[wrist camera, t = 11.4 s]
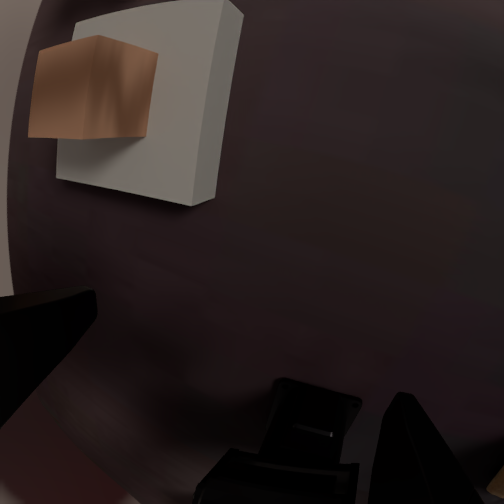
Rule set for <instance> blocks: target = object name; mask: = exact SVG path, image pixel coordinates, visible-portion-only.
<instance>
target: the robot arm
mask: <svg viewBox="0 0 504 504" xmlns="http://www.w3.org/2000/svg"><path fill="white" fill-rule="evenodd" d="M96 317H97V302H96V293H95V291H94V290H93V289H91V288H89V287H87V286H77V287H70V288H63V289H55V290H48V291H41V292H34V293H26V294H19V295H12V296H4V297H0V429H1V428H2V427H3V425H4V424H5V423H6V422H7V421H8V419H9V418H10V417H11V416H12V415H13V414H14V413H15V411H16V410H17V409H18V408H19V407H20V406H21V405H22V403H23V402H24V401H25V400H26V399H27V398H28V397H29V396H30V394H31V393H32V392H33V391H34V390H35V389H36V388H37V387H38V386H39V384H40V383H41V382H42V381H43V380H44V379H45V378H46V377H47V376H48V375H49V374H50V373H51V371H52V370H53V369H54V368H55V367H56V366H57V365H58V364H59V363H60V362H61V361H62V360H63V359H64V358H65V357H66V355H67V354H68V353H69V352H70V351H71V350H72V348H73V347H74V346H75V345H76V343H77V342H78V341H79V339H80V338H81V337H82V336H83V334H84V333H85V332H86V331H87V329H88V328H89V327H90V326H91V324H92V323H93V322H94V321H95V319H96ZM284 384H286V385H288V386H285V385H284ZM354 403H357V404H354ZM361 407H362V400H361V399H360V398H358V397H353V396H349V395H345V394H341V393H337V392H333V391H329V390H326V389H322V388H318V387H315V386H311V385H307V384H304V383H300V382H297V381H293V380H290V379H286V378H285V379H282V380H281V381H280V382H279V385H278V388H277V392H276V395H275V398H274V401H273V404H272V408H271V411H270V414H269V417H268V420H267V423H266V426H265V429H266V431H267V434H266V436H265V438H264V441H263V443H262V446H261V448H260V450H259V453H258V454H254V453H248V452H243V451H239V449H234V448H230V449H229V450H228V452H227V453H226V454H225V455H224V456H223V457H222V458H221V459H220V460H219V462H218V463H217V464H216V465H215V466H214V467H213V468H212V470H211V471H210V472H209V473H208V474H207V475H206V476H205V477H204V478H203V479H202V481H201V482H200V483H199V484H198V485H197V487H196V491H195V492H194V494H193V502H192V504H355V498H356V490H357V482H358V473H359V463H351V464H339V462H340V457H341V451H342V445H343V439H344V436H345V434H346V433H347V431H348V429H349V428H350V426H351V424H352V423H353V421H354V419H355V418H356V416H357V414H358V412H359V411H360V409H361ZM368 504H484V502H483V500H482V499H481V497H480V496H479V494H478V492H477V491H476V489H474V486H473V484H472V483H471V481H470V480H469V478H468V476H467V475H466V473H465V472H464V470H463V468H462V467H461V465H460V464H459V462H458V461H457V459H456V458H455V456H454V454H453V453H452V451H451V450H450V448H449V447H448V445H447V444H446V442H445V441H444V439H443V438H442V436H441V435H440V433H439V432H438V430H437V429H436V427H435V426H434V424H433V423H432V421H431V420H430V418H429V417H428V415H427V414H426V412H425V411H424V409H423V408H422V407H421V405H420V404H419V402H418V401H417V399H416V398H415V396H414V395H412V394H409V393H404V392H398V393H397V394H396V395H395V397H394V399H393V400H392V402H391V404H390V405H389V407H388V408H387V410H386V412H385V414H384V416H383V419H382V424H381V429H380V435H379V440H378V445H377V449H376V454H375V459H374V463H373V468H372V475H371V483H370V491H369V498H368Z"/></svg>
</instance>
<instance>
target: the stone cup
mask: <svg viewBox="0 0 504 504" xmlns="http://www.w3.org/2000/svg"><path fill="white" fill-rule="evenodd" d="M486 489H487V491H488V492H489V493H491V494H492V495H497V496H499V497H501V498H504V465H503V467H502V468H501V469H500V471H499V472H498V473H497V474H496V476H495V477H494V478H493V479H492V481H491V482H490V483H489V484H488V486H487V488H486Z"/></svg>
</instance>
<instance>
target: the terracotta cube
mask: <svg viewBox="0 0 504 504" xmlns="http://www.w3.org/2000/svg"><path fill="white" fill-rule="evenodd" d="M158 55H159V54H158V53H156V52H153V51H150V50H147V49H144V48H141V47H138V46H135V45H132V44H128V43H125V42H122V41H119V40H115V39H112V38H108V37H105V36H101V35H94V36H90V37H86V38H82V39H78V40H74V41H71V42H67V43H63V44H60V45H57V46H53V47H50V48H47V49H44V50H41V51H39V56H38V61H37V66H36V72H35V78H34V85H33V92H32V100H31V109H30V120H29V133H28V137H37V138H64V139H82V140H83V139H97V138H116V137H146V134H147V126H148V118H149V110H150V103H151V96H152V90H153V83H154V77H155V71H156V66H157V60H158Z"/></svg>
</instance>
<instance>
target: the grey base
mask: <svg viewBox="0 0 504 504" xmlns="http://www.w3.org/2000/svg"><path fill="white" fill-rule="evenodd" d="M243 17H244V15H243V14H242V13H241V12H240V11H239V10H238V9H237V8H236V7H235V6H234V5H233V4H232V3H231V2H230V1H229V0H179V1H172V2H165V3H158V4H152V5H147V6H141V7H136V8H131V9H127V10H122V11H118V12H113V13H109V14H105V15H102V16H98V17H94V18H91V19H87V20H84V21H81V22H77V23H76V25H75V29H74V33H73V38H72V41H74V40H78V39H82V38H86V37H90V36H94V35H101V36H105V37H108V38H112V39H115V40H119V41H122V42H125V43H128V44H132V45H135V46H138V47H141V48H144V49H147V50H150V51H153V52H156V53H158V54H159V55H158V60H157V66H156V71H155V77H154V83H153V90H152V96H151V103H150V110H149V118H148V126H147V134H146V137H116V138H97V139H83V140H82V139H64V138H58V146H57V168H56V178H59V179H64V180H70V181H75V182H80V183H85V184H90V185H95V186H100V187H105V188H110V189H114V190H119V191H124V192H129V193H133V194H138V195H143V196H147V197H152V198H157V199H161V200H166V201H170V202H175V203H179V204H184V205H188V206H194V205H196V204H199V203H202V202H204V201H207V200H210V199H212V198H215V191H216V184H217V176H218V169H219V161H220V154H221V147H222V140H223V134H224V127H225V120H226V114H227V108H228V101H229V95H230V89H231V83H232V77H233V71H234V65H235V60H236V54H237V48H238V43H239V38H240V32H241V27H242V22H243Z"/></svg>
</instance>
